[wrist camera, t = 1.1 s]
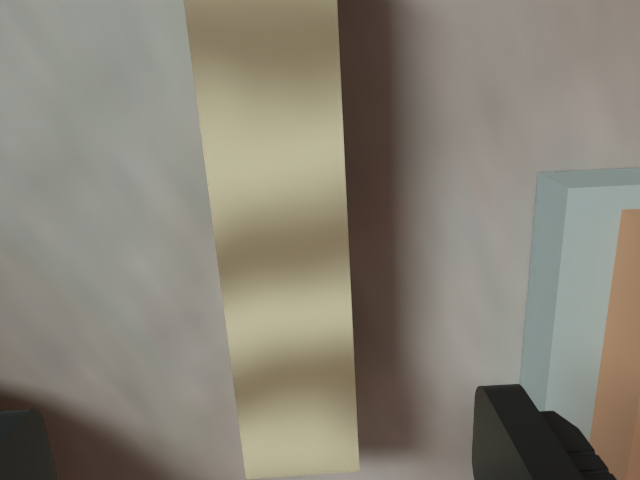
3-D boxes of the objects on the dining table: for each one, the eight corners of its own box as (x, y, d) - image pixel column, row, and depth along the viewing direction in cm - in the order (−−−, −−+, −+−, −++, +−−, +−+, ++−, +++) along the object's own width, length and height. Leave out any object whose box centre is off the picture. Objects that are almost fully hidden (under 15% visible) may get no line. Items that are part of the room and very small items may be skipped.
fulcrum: (538, 172, 25) (607, 208, 19) (691, 165, 25) (804, 198, 20) (510, 490, 31) (557, 589, 25) (635, 483, 31) (709, 580, 25)
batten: (200, -60, 22) (172, -89, 17) (326, -68, 22) (332, -100, 17) (255, 409, 29) (246, 479, 24) (350, 403, 29) (359, 471, 24)
